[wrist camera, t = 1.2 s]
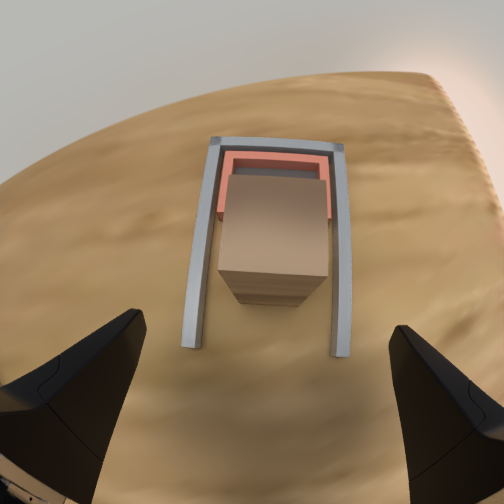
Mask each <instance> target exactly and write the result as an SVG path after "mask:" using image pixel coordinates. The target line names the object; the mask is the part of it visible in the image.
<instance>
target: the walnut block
mask: <svg viewBox="0 0 504 504" xmlns="http://www.w3.org/2000/svg"><path fill="white" fill-rule="evenodd" d="M217 270H218V271H219V273H220V274H221V276H222V277H223V279H224V280H225V282H226V283H227V285H228V286H229V288H230V289H231V291H232V292H233V294H234V295H235V297H236V298H237V300H238V301H239V303H245V304H260V305H276V306H295V307H298V306H299V305H300V304H301V303H302V302H303V301H304V300H305V299H306V298H307V297H308V296H309V295H310V294H311V293H312V292H313V291H314V290H315V289H316V288H317V287H318V286H319V285H320V284H321V283H322V282H323V281H324V280H325V279H326V278H327V277H328V211H327V186H326V180H320V179H307V178H294V177H278V176H258V175H229V177H228V184H227V192H226V200H225V208H224V216H223V225H222V233H221V242H220V251H219V260H218V269H217Z"/></svg>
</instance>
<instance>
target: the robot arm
mask: <svg viewBox="0 0 504 504" xmlns="http://www.w3.org/2000/svg"><path fill="white" fill-rule="evenodd" d="M146 331H147V328H146V323H145V319H144V316H143V312H142V311H141V310H140V309H133V308H131V309H129V310H127V311H126V312H124V313H123V314H121V315H119V316H118V317H116V318H115V319H113V320H112V321H110V322H109V323H107V324H105V325H104V326H102V327H101V328H99V329H98V330H96V331H95V332H93V333H91V334H90V335H88V336H87V337H85V338H84V339H82V340H81V341H79V342H78V343H76V344H74V345H73V346H71V347H70V348H68V349H67V350H65V351H64V352H62V353H61V354H60V355H58V356H56V357H54V358H53V359H51V360H50V361H48V362H47V363H45V364H43V365H42V366H40V367H38V368H37V369H35V370H33V371H31V372H29V373H28V374H26V375H24V376H22V377H20V378H18V379H16V380H14V381H13V382H11V383H9V384H7V385H4V386H0V504H64V503H65V500H66V498H68V499H70V500H72V501H74V502H76V503H78V504H91V503H92V499H93V495H94V492H95V488H96V485H97V481H98V478H99V475H100V471H101V468H102V465H103V461H104V458H105V455H106V452H107V449H108V446H109V443H110V440H111V437H112V434H113V431H114V428H115V425H116V422H117V419H118V416H119V414H120V411H121V408H122V405H123V403H124V400H125V397H126V394H127V392H128V389H129V386H130V384H131V381H132V379H133V376H134V373H135V371H136V368H137V365H138V361H139V357H140V354H141V350H142V346H143V343H144V339H145V335H146ZM389 355H390V363H391V371H392V380H393V386H394V391H395V396H396V401H397V406H398V411H399V416H400V422H401V428H402V434H403V440H404V447H405V454H406V461H407V470H408V479H409V491H410V504H504V407H502V406H501V405H500V404H498V403H497V402H496V401H495V400H493V399H492V398H491V397H490V396H488V395H487V394H486V393H485V392H483V391H482V390H481V389H480V388H479V387H478V386H477V385H475V384H474V383H473V382H472V381H471V380H469V378H468V377H467V376H465V375H464V374H463V373H462V372H461V371H460V370H459V369H458V368H457V367H455V366H454V365H453V364H452V363H451V362H450V361H449V360H447V359H446V358H445V357H444V356H443V355H442V354H441V353H439V352H438V351H437V350H436V349H435V348H434V347H433V346H431V345H430V344H429V343H428V342H427V341H426V340H424V339H423V338H422V337H421V336H420V335H418V334H417V333H416V332H415V331H414V330H413V329H411V328H410V327H409V326H408V325H397V326H396V327H395V329H394V332H393V334H392V336H391V339H390V341H389Z"/></svg>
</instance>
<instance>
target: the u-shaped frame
mask: <svg viewBox="0 0 504 504" xmlns="http://www.w3.org/2000/svg"><path fill="white" fill-rule="evenodd" d="M225 151H254V152H276V153H292V154H306V155H317V156H328V164H329V166H330V181H331V200H332V228H333V302H332V329H331V348H330V356H335V357H350V340H351V313H352V257H351V229H350V211H349V197H348V185H347V174H346V164H345V155H344V147H343V144H339V143H330V142H320V141H310V140H297V139H282V138H262V137H211V140H210V145H209V150H208V155H207V160H206V165H205V171H204V177H203V182H202V188H201V194H200V200H199V206H198V212H197V218H196V225H195V232H194V238H193V246H192V253H191V260H190V268H189V276H188V284H187V292H186V301H185V311H184V320H183V331H182V342H181V346H183V347H190V348H199V347H201V336H202V325H203V315H204V304H205V294H206V285H207V276H208V267H209V258H210V250H211V242H212V234H213V226H214V218H215V211H216V203H217V196H218V189H219V182H220V175H221V169H222V162H223V158H224V157H225Z"/></svg>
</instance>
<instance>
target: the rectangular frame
mask: <svg viewBox="0 0 504 504" xmlns="http://www.w3.org/2000/svg"><path fill="white" fill-rule="evenodd" d="M229 175H258V176H278V177H294V178H307V179H320V180H326V186H327V211H328V224H329V222H330V220H331V199H330V180H329V165H328V156H317V155H306V154H292V153H276V152H254V151H225V157H224V164H223V171H222V178H221V185H220V192H219V199H218V206H217V214H218V217H219V219H220V221H223V216H224V208H225V200H226V192H227V184H228V177H229Z"/></svg>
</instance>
